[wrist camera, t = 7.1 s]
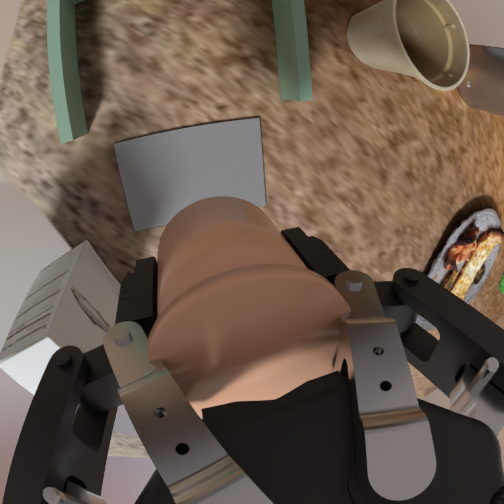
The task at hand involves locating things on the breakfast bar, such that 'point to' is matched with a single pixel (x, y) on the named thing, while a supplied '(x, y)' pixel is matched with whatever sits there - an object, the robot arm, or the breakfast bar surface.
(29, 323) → the supplement box
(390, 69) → the flower pot
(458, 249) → the food plate
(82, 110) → the green u-shaped frame
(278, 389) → the tan round knob
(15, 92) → the breakfast bar surface
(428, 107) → the breakfast bar surface
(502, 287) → the fruit basket
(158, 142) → the slate mat
